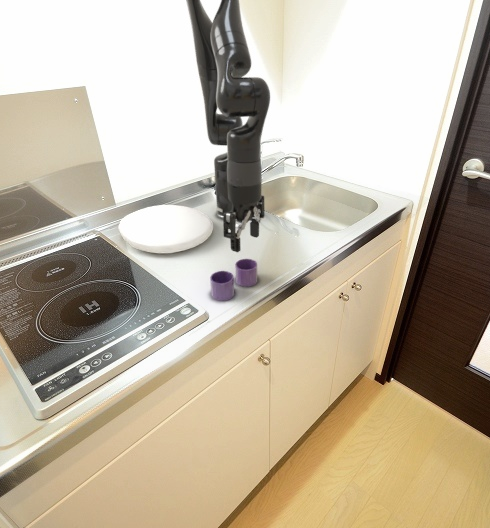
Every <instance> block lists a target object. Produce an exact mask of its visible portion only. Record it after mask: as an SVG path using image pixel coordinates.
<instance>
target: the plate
mask: <svg viewBox="0 0 490 528" xmlns="http://www.w3.org/2000/svg"><path fill="white" fill-rule="evenodd" d="M213 229H214V222H213V221H212V220H211V218H210V217H209V216H208V215H207V214H206V213H204V212H202V211H201V210H198V209H196V208H193V207H190V206H185V205H184V206H183V205H178V204H177V205H175V204H160V205H153V206H152V205H151V206H147V207H144V208H141V209H139V210H138V209H137V210H136V211H134V212H131V213H129V214H127V215H125V216H124V217H123V218H122V219H121V220H120V222H119V224H118V231H119V233H120V235H121V237H122V239H123V240H124V241H125V242H126V243H127V244H128V245H129V246H131V247H132V248H134V249H137V250H139V251H142V252H146V253H151V254H152V253H153V254H173V253H178V252H182V251H186V250H189V249H190V250H191V249H193V248H195V247H197V246H200V245H201V244H203V243H205V241H206V240H207V239H209V238H210V236H212V233H213Z"/></svg>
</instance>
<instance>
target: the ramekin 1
mask: <svg viewBox="0 0 490 528" xmlns="http://www.w3.org/2000/svg"><path fill="white" fill-rule="evenodd" d="M209 279H210V280H209V281H210V292H211V297H212V299H214V300H216V301H218V302H219V301H220V302H221V301H222V302H224V301H225V302H226V301H228V300H231V299H232V298H233V297H234V295H235V277H234V274H233V273H232V272H230V271H228V270H218V271H215V272H213V273H212V274H211V275H210V277H209Z"/></svg>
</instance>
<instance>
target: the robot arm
mask: <svg viewBox="0 0 490 528" xmlns="http://www.w3.org/2000/svg"><path fill="white" fill-rule="evenodd" d="M185 2H186V6H187V12H188V15H189V20H190V26H191V32H192V38H193V46H194V53H195V61H196V66H197V67H196V68H197V73H198V77H199V82H200V88H201V92H202V98H203V105H204V113H205V124H206V125H205V126H206V133H207V138H208V141H209V143H210V144H211V145H214V146H221V147H222V146H223V147H224V146H225V147H226V151H225V152H224V153H221V154H218V155H216V156H215V157H214V158H213V166H214V167H213V168H214V169H213V170H214V183H215V200H216V215H217V218H219V219H222V223H223V224H222V225H223V226H222V227H223V231H222V233H223V238H226V239H229V241H230V243H229V244H230V250H231V251H232V252H235V253H239V252H241V249H242V248H241V235H242V231H243V230H245V229H246V225H247V224H248V223H249V235H250V236H251V237H252V238H255V239H256V238H259V237H260V224H261V222H262V219H264V218H265V216H266V215H265V214H266V213H265V212H266V211H265V196H264V195H262V180H263V179H262V173H263V172H262V171H263V169H262V168H263V167H262V159H261V155H262V153H261V152H262V151H261V148H262V147H261V146H262V145H261V142H262V136H263V131H264V128H265V127H264V126H265V122H266V118H267V115H268V112H269V108H270V103H271V90H270V87H269V85H268V83H267V82H266V80H265V79H264V78H262V77H259V76H251V77H250V76H249V77H245V76H246V75H248V73H249V72H250V71H251V68H252V58H251V53H250V49H249V45H248V42H247V38H246V35H245V30H244V26H243V22H242V21H243V20H242V14H241V5H240V0H220V4H219V6H218V9H217V11H216V13H215V15H214V17H213V20H211V18H210V17H209V15H208V14H207V11H206V10H205V8H204V5H203V3H202V2H201V0H185ZM218 111H219V112H220V113H218ZM246 117H247V120H246V122H245V123H244V124H243V118H246ZM259 211H260V212H259ZM249 221H250V222H249ZM236 229H237V230H236Z"/></svg>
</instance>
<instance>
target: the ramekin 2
mask: <svg viewBox="0 0 490 528" xmlns="http://www.w3.org/2000/svg"><path fill="white" fill-rule="evenodd" d="M234 265H235V268H234V269H235V283H236V284H237V285H238V286H240V287H243V288H244V287H245V288H246V287H248V288H249V287H252V286H255V285H256V284H257V282H258V262H257V261H256V260H254V259H252V258H241V259H238V260H237V261H236V262H235V263H234Z"/></svg>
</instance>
